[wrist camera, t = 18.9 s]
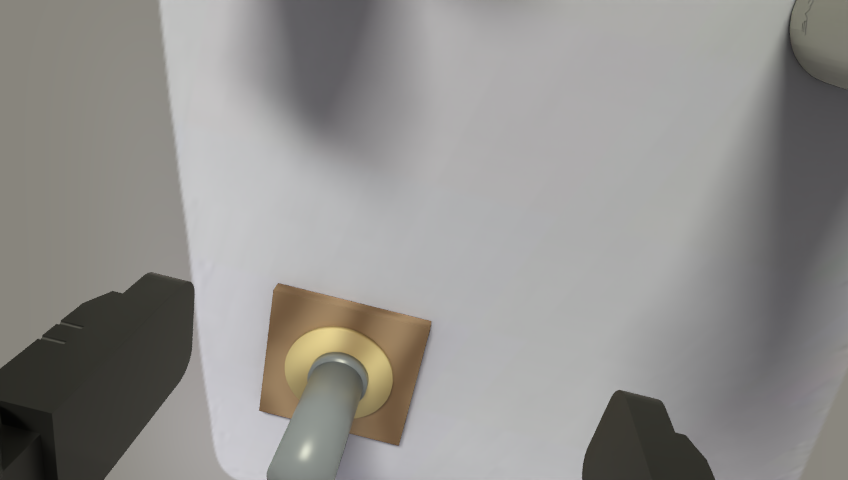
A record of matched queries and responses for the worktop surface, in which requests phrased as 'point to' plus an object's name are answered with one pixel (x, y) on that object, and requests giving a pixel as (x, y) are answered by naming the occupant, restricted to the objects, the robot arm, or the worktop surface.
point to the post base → (348, 333)
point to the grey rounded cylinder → (321, 420)
